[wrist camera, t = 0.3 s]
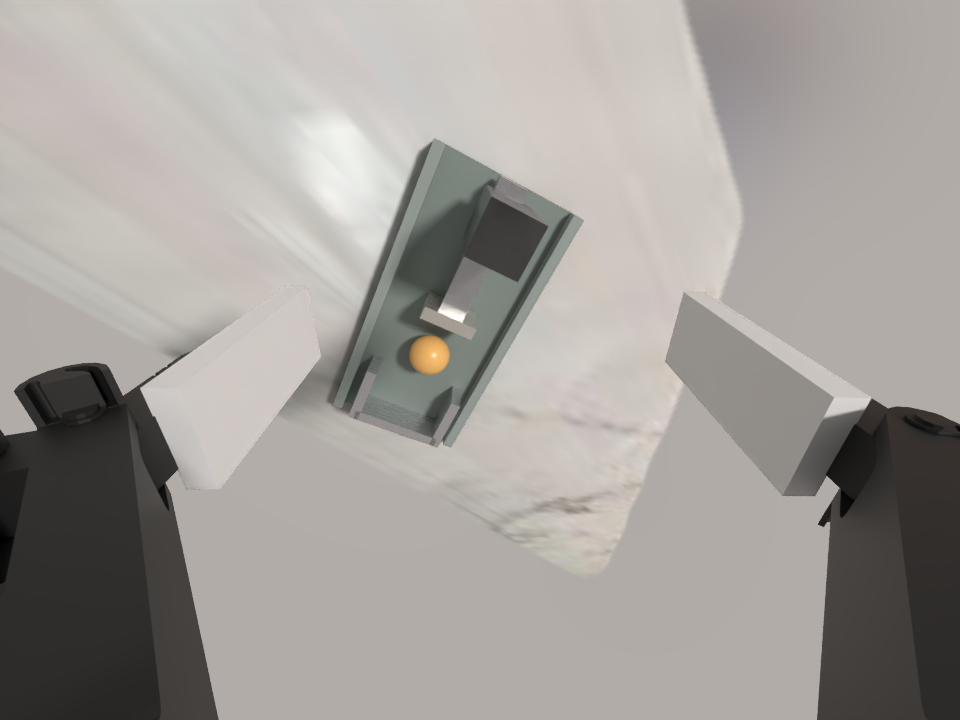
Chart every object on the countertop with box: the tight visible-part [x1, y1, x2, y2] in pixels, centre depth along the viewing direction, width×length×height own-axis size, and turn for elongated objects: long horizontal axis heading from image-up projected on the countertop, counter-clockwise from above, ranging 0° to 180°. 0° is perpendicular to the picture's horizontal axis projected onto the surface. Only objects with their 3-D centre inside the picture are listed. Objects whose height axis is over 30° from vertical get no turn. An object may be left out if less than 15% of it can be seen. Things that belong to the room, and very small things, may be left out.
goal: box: [349, 355, 461, 447], centre depth 43 cm, size 10×6×4 cm, turn 64°
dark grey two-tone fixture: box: [420, 174, 549, 340], centre depth 31 cm, size 5×13×11 cm, turn 154°
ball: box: [409, 335, 450, 375], centre depth 39 cm, size 4×4×4 cm
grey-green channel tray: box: [332, 139, 584, 447], centre depth 39 cm, size 14×28×2 cm, turn 154°
